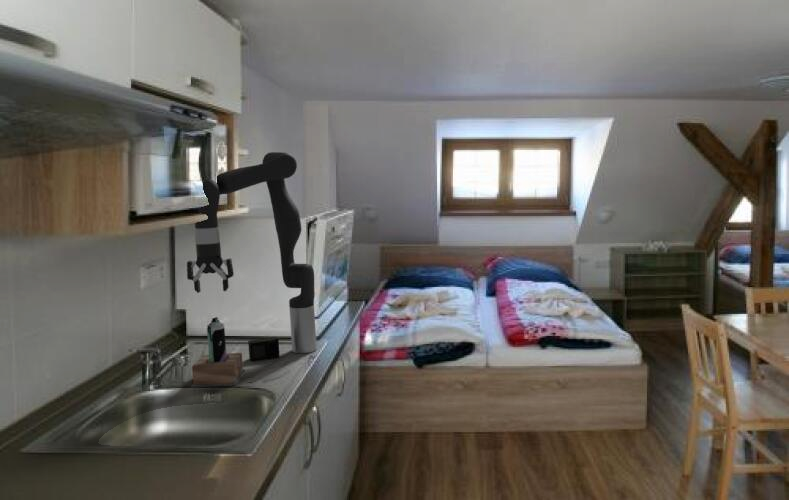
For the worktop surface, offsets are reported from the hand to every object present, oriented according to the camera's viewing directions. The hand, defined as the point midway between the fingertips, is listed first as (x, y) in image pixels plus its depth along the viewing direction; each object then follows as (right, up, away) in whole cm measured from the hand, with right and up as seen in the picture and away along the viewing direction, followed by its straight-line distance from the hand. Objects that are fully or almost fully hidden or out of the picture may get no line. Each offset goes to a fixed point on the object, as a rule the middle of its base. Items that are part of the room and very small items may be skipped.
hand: (211, 291), depth 198 cm
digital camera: (+12, -27, +26) cm, 39 cm away
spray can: (+2, -29, +3) cm, 29 cm away
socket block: (+1, -29, +3) cm, 29 cm away
